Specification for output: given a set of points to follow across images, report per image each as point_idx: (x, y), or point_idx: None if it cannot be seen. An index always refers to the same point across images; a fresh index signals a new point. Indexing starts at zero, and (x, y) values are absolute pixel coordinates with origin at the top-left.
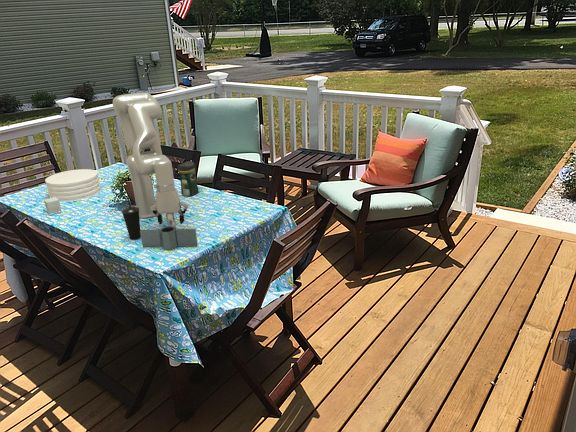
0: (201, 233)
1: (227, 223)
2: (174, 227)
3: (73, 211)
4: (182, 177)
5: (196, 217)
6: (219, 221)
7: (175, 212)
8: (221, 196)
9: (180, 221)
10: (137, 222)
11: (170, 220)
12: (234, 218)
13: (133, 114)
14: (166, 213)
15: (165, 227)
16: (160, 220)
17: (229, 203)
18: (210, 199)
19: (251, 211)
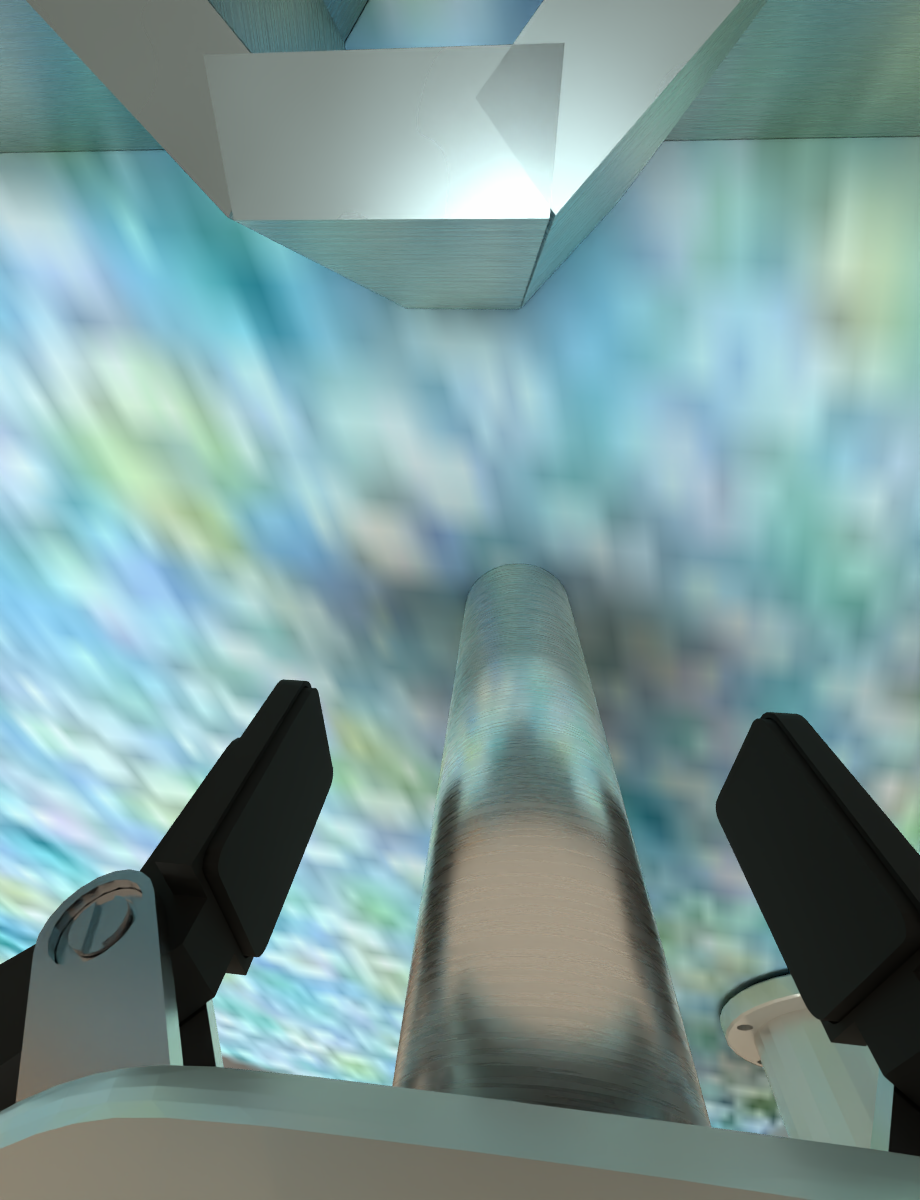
0: (171, 619)
1: (50, 791)
2: (77, 14)
3: None
4: None
5: (387, 912)
6: (148, 831)
7: (114, 1110)
8: (334, 1073)
9: (275, 723)
10: None
11: (519, 766)
12: (57, 856)
13: None
14: (677, 1073)
15: (599, 25)
16: (811, 805)
17: (239, 1015)
18: (386, 1064)
19: (14, 920)
